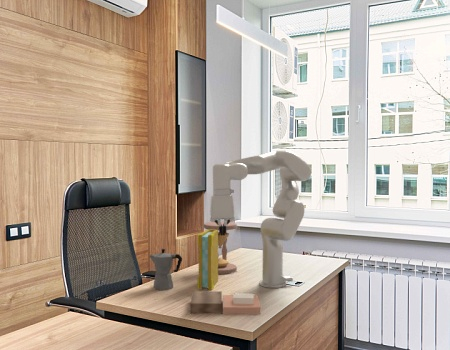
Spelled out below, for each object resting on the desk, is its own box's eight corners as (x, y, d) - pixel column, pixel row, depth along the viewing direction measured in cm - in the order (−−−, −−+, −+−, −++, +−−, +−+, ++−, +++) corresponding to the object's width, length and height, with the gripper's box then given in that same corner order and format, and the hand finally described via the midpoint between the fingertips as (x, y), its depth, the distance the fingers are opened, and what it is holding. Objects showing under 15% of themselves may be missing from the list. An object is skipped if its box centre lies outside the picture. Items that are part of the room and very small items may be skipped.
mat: (257, 300, 195) (257, 295, 195) (260, 313, 179) (260, 307, 179) (222, 300, 195) (222, 295, 195) (222, 313, 179) (222, 307, 179)
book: (212, 290, 211) (212, 235, 210) (197, 289, 213) (197, 234, 212) (219, 280, 228) (219, 229, 227) (206, 279, 229) (206, 229, 228)
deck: (221, 300, 195) (221, 291, 195) (221, 313, 179) (221, 303, 179) (193, 300, 195) (193, 291, 195) (190, 313, 179) (190, 303, 179)
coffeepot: (146, 290, 211) (146, 250, 211) (151, 284, 221) (151, 246, 220) (180, 290, 210) (180, 251, 209) (183, 285, 219) (183, 247, 219)
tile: (253, 299, 189) (253, 293, 189) (253, 304, 183) (253, 298, 183) (234, 299, 189) (234, 293, 189) (233, 303, 183) (233, 297, 183)
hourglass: (225, 276, 236) (225, 227, 235) (197, 271, 246) (197, 224, 245) (242, 269, 251) (242, 222, 250) (215, 265, 260) (215, 220, 259)
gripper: (238, 191, 204) (239, 233, 205) (204, 192, 203) (205, 233, 204) (239, 193, 197) (240, 236, 198) (204, 193, 196) (205, 237, 197)
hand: (222, 234), depth 201 cm, fingers closed
